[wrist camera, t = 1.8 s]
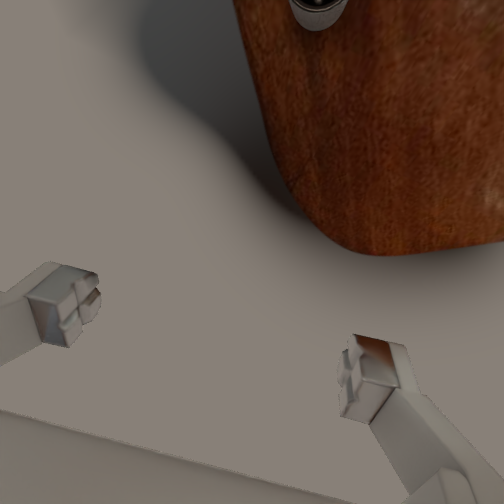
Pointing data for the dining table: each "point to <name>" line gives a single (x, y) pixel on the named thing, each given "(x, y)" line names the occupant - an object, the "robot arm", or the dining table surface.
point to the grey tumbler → (317, 12)
